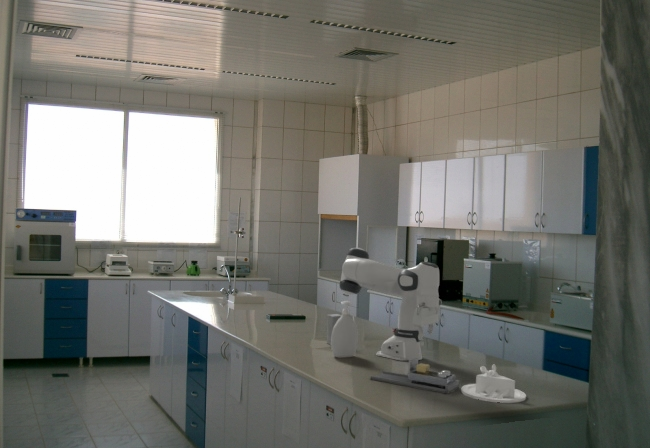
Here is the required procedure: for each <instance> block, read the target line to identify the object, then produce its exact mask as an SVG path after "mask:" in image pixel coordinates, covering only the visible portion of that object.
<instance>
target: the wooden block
mask: <svg viewBox="0 0 650 448" xmlns="http://www.w3.org/2000/svg"><path fill="white" fill-rule="evenodd" d="M430 367H431V365H430V364H427V363H426V364H425V363H418V365H417V370H416V374H421V375H427V376H429V370H430Z"/></svg>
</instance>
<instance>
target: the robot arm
mask: <svg viewBox="0 0 650 448" xmlns="http://www.w3.org/2000/svg"><path fill="white" fill-rule="evenodd" d="M341 270H342V271H341V275H340V281H339V289H340V290H341V291H342V292H344V293H345V294H347V295H357V294H359V293H360V292H361V290H362V287H364V288H365V289H368V290H372V291H375V292H377V293H382V294H386V295H389V296H392V297H397V298H400V299H401V304H400V308H399V310H398V315H397V327H396V328H393V330H392V332H393V335H392V336H390V337H389V338H387V339H386V340H384V341H383V343H381V349H380V350H378V351H377V352H376V353H375V355H376V356H378V357H382V358H388V359H391V360H396V361H403V362H404V361H410V360H413V359H415V358H418V361H419V360H420V361H421V360H423V356H422V350H421V349H422V348H421V341H422V338H423V337H424V338H425V332H424V329H425V327H426V326H428V328H427V335H432V334H434V327H435V324H436V323H439V321H440V317H441V316H440V315H441V306H442V303H443V302H442V301H443V300H442V299H440V298H439V297H440V295H439V286H440V269H439V266H438V264H436V263H433V262H429V261H421V262H420V263H419V264H416V265H415V266H413V267H408V268H402V267H397V266H393V265H389V264H387V263H383V262H380V261H377V260H373V259H370V255H369V252H368V251H366V250H365V249H363V248H361V247H352V248H349V249H348V251H347V253H346V257H345V260H344V262H343V263H342V266H341Z"/></svg>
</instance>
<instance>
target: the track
mask: <svg viewBox="0 0 650 448" xmlns="http://www.w3.org/2000/svg"><path fill="white" fill-rule="evenodd" d="M370 380H372V381H378V382H383V383H388V384H395V385H400V386H404V387H410V388H416V389H420V390H426V391H431V390H432V391H431V392H438V393H442V394H448V395H449V394H450V393H452V392H454V391H456V390H457V389H460V383H459V382H460V380H459V379H455V381H453V382H451V383H449V384H447V385H446V386H445V389H441V388H440V386H441V385H437V384H431V383H425V382H420V381H417V383H416V384H414V383H412V380H409V379H408V374H402V373H397V372H393V371H386V370H383V371H382V372H381V373H380V374H376V375H370Z"/></svg>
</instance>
